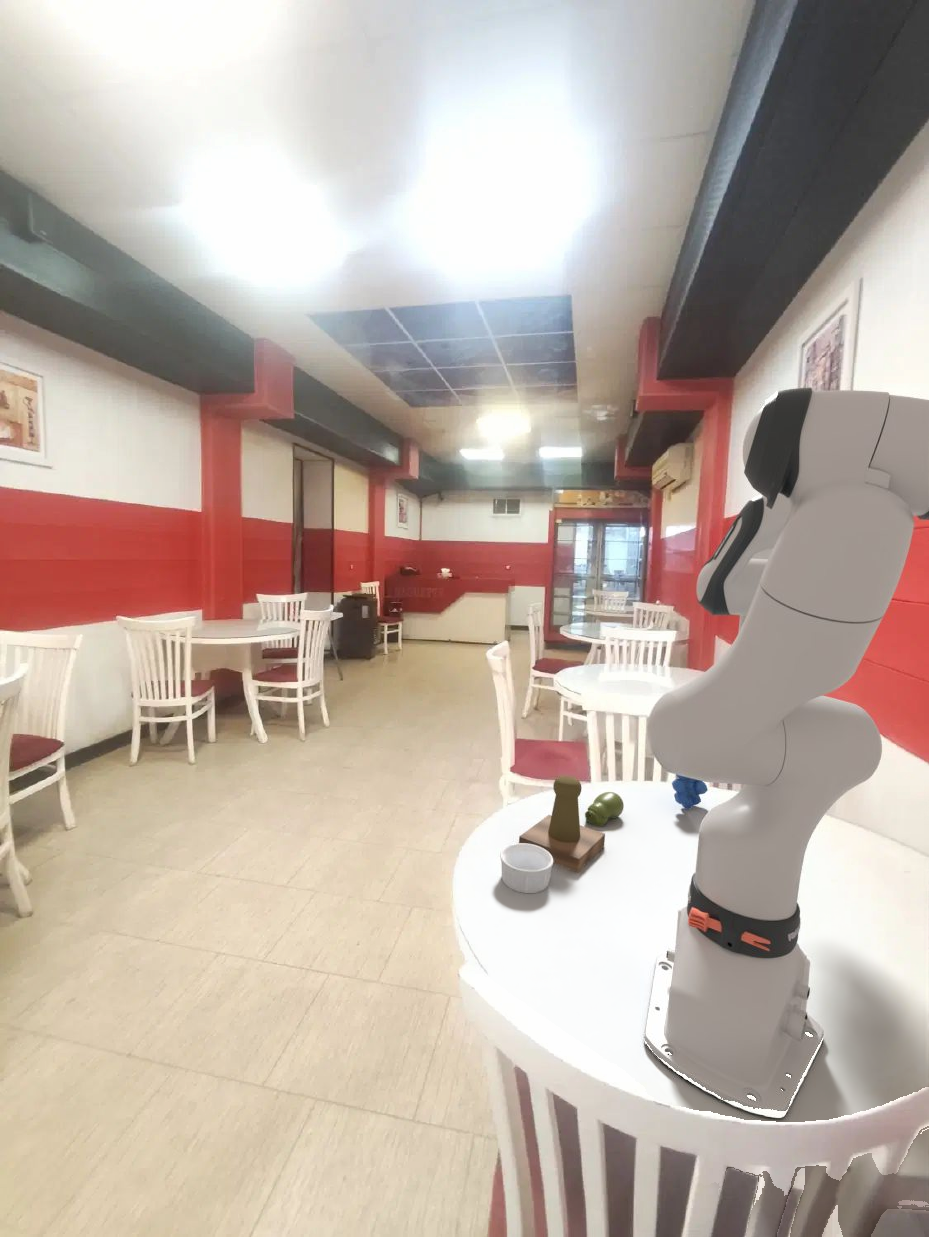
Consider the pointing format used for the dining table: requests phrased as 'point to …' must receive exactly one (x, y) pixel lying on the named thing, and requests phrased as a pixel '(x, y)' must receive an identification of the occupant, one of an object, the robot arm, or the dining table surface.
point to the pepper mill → (565, 810)
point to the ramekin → (526, 867)
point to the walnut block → (565, 845)
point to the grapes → (688, 791)
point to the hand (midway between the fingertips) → (758, 706)
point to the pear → (604, 808)
